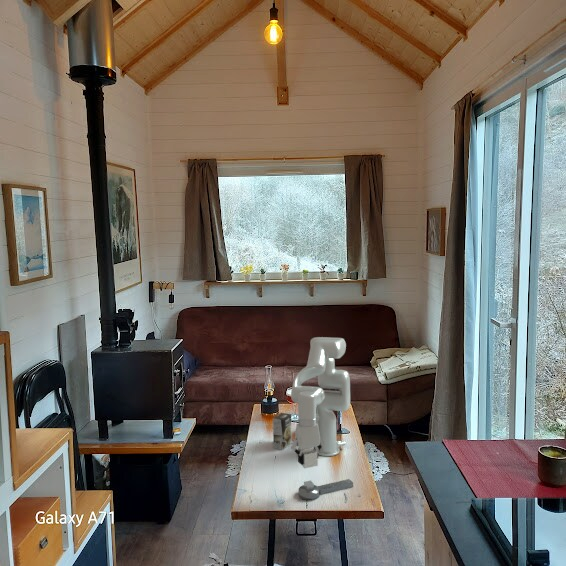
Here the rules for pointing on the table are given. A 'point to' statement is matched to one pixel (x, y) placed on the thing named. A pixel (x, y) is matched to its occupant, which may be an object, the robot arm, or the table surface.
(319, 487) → the ratchet
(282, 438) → the coffee box
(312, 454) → the brushed grey cube
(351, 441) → the table surface
